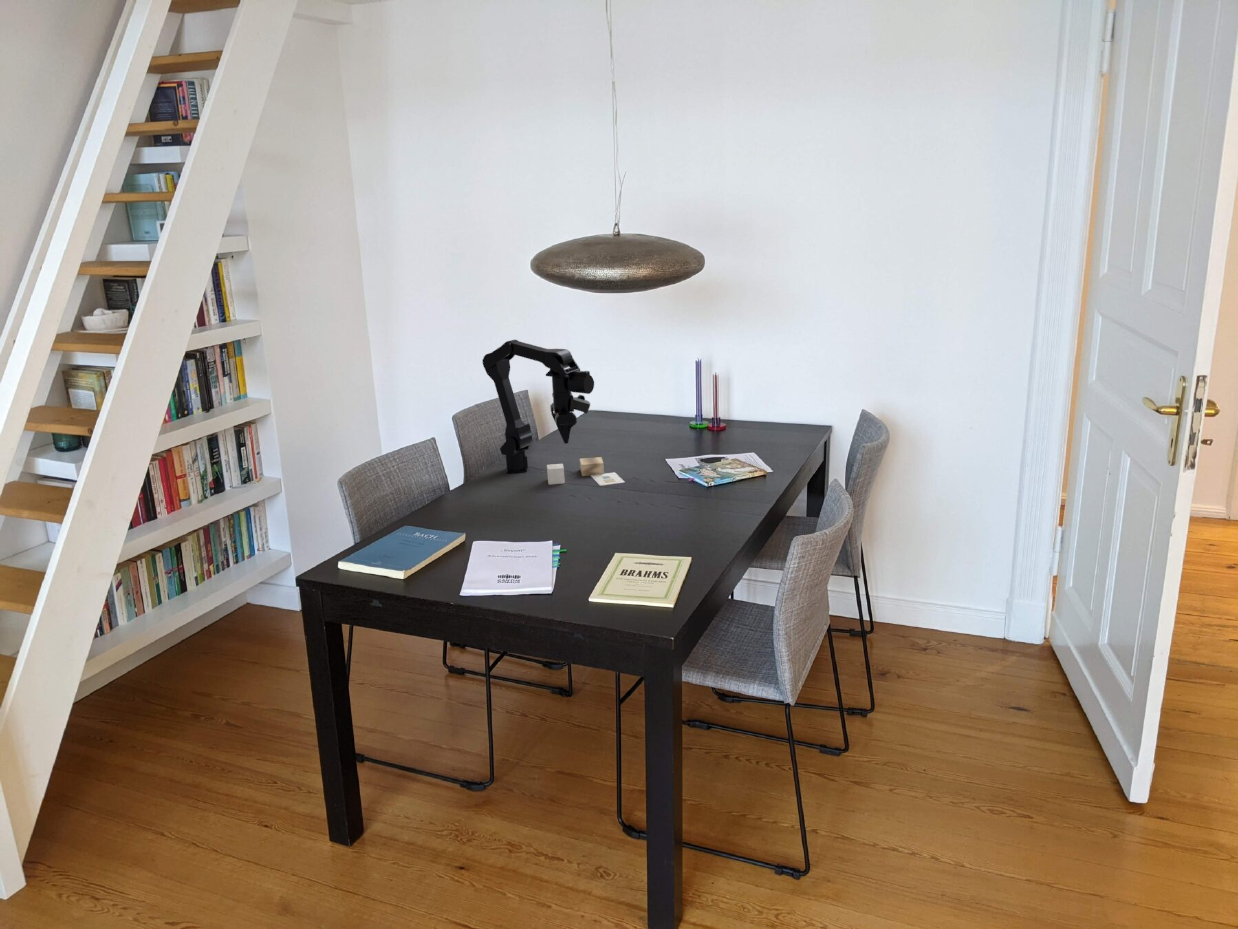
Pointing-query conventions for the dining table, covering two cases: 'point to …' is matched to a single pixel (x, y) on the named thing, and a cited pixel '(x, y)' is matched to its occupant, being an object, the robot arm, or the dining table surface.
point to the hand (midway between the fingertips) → (564, 439)
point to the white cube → (555, 474)
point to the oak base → (591, 466)
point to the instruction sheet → (607, 479)
